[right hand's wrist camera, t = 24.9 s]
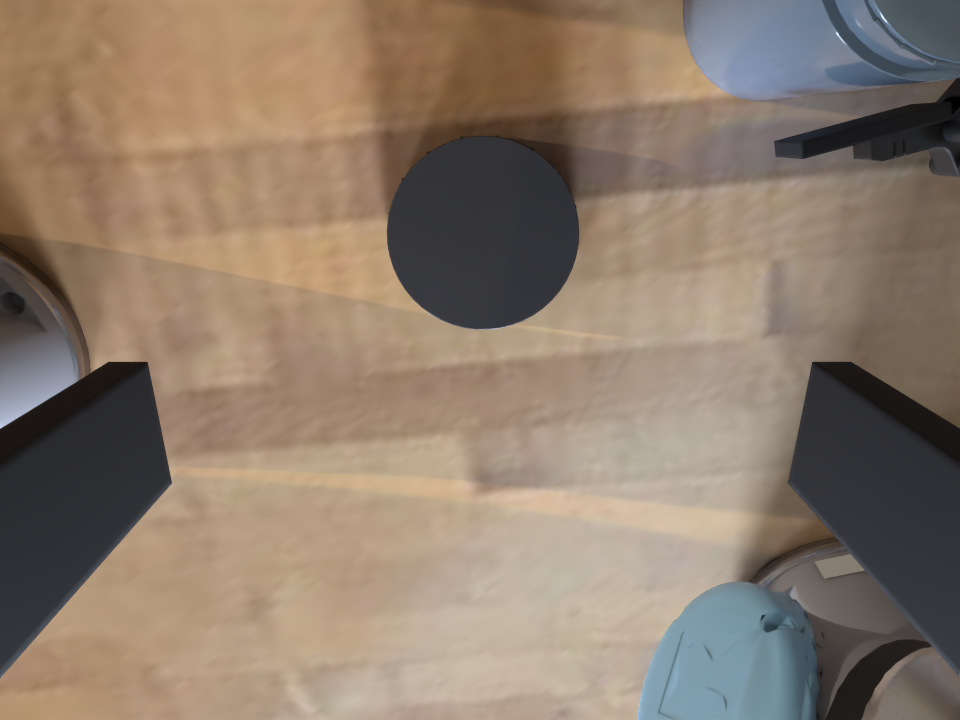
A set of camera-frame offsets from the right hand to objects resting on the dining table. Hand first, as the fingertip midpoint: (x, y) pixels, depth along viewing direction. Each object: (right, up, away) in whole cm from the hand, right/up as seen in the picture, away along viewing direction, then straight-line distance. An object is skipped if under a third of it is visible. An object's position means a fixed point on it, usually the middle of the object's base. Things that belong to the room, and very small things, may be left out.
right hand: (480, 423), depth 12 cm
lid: (0, +8, +23) cm, 24 cm away
